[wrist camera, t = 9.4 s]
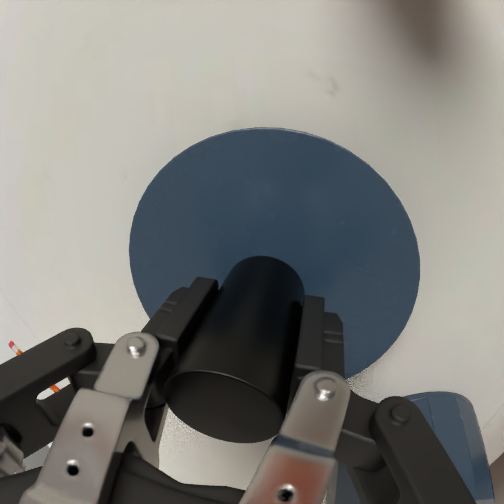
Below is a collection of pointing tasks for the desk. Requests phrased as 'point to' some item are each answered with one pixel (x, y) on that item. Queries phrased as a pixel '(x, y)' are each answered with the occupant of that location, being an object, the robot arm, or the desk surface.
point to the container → (452, 439)
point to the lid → (270, 267)
